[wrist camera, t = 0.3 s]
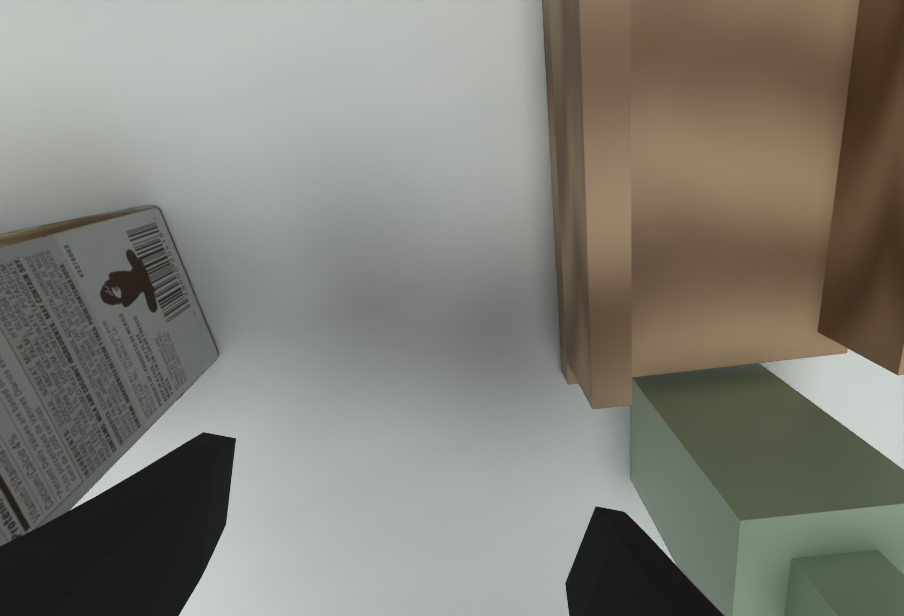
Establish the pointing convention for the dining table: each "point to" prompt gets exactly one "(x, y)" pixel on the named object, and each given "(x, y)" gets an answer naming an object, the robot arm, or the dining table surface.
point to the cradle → (724, 184)
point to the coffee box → (87, 354)
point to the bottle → (767, 496)
